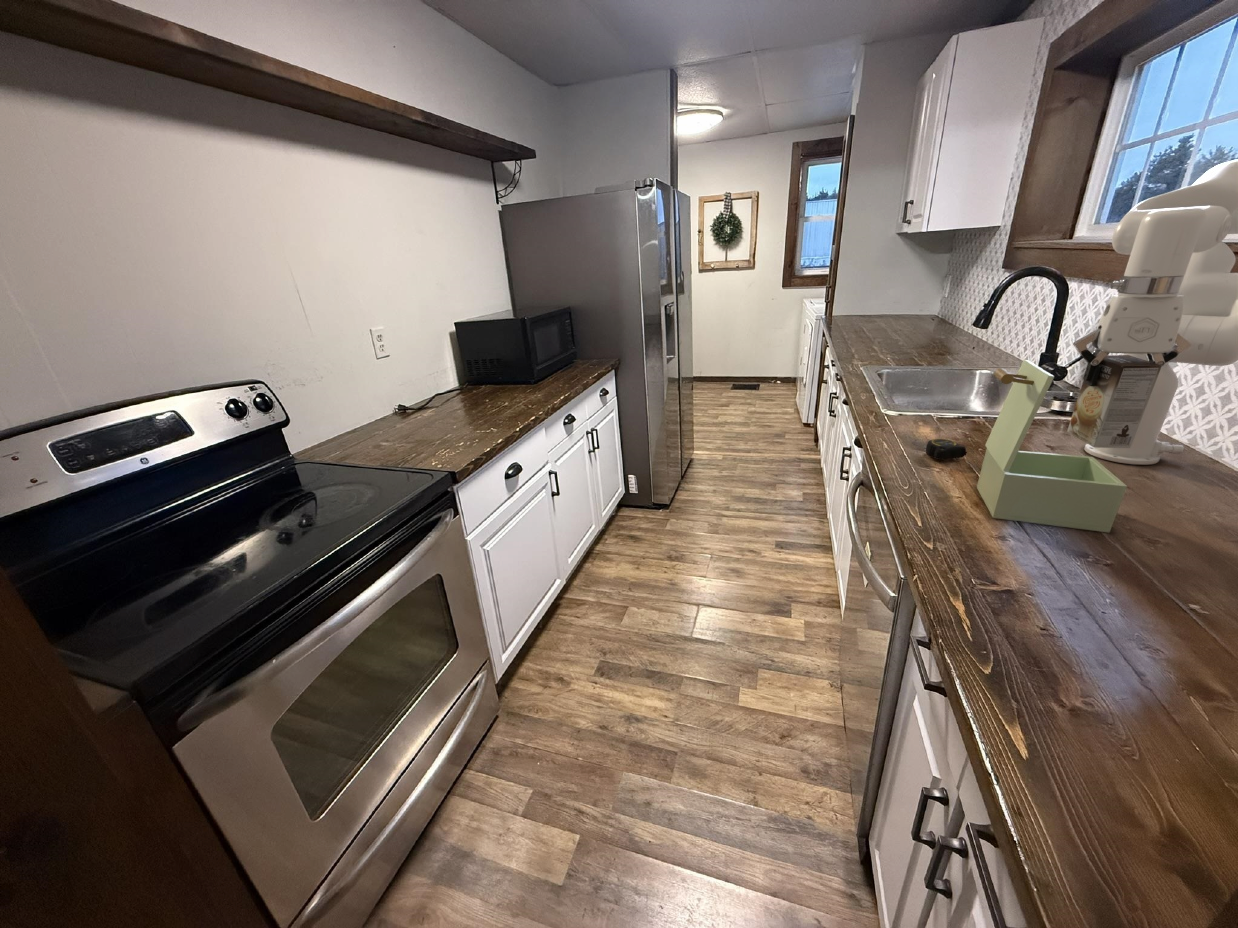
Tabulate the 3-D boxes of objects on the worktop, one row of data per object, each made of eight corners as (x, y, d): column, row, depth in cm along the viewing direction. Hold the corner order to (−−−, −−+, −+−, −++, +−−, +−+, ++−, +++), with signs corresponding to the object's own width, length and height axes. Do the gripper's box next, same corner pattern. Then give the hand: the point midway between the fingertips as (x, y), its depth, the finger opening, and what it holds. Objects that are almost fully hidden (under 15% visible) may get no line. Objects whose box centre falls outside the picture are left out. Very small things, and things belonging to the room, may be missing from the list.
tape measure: (938, 464, 116) (941, 449, 114) (918, 453, 122) (921, 439, 120) (965, 461, 116) (968, 446, 115) (943, 451, 123) (947, 436, 121)
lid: (1028, 360, 92) (994, 354, 94) (1054, 376, 81) (1014, 370, 82) (989, 446, 100) (958, 439, 102) (1008, 472, 88) (972, 464, 90)
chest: (1078, 498, 97) (1092, 456, 94) (1109, 532, 86) (1127, 486, 82) (976, 487, 104) (986, 447, 100) (992, 517, 92) (1004, 474, 89)
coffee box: (1064, 432, 103) (1088, 355, 97) (1100, 432, 102) (1127, 354, 96) (1093, 448, 95) (1122, 365, 89) (1133, 448, 94) (1165, 364, 88)
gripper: (1094, 290, 88) (1065, 388, 94) (1231, 287, 81) (1188, 393, 88) (1078, 287, 94) (1051, 379, 101) (1203, 283, 87) (1166, 382, 94)
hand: (1116, 384), depth 94 cm, fingers closed on coffee box, 7 cm apart
